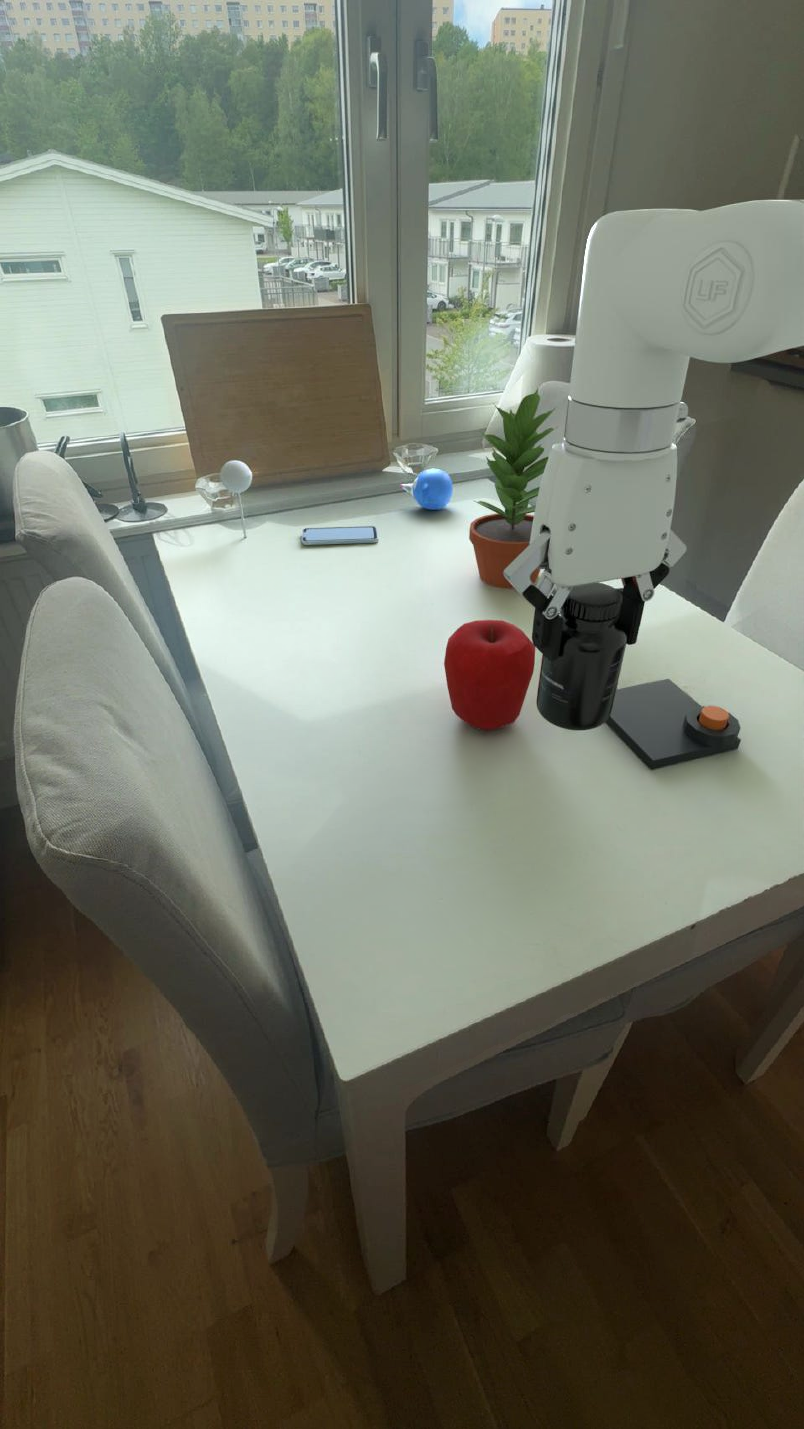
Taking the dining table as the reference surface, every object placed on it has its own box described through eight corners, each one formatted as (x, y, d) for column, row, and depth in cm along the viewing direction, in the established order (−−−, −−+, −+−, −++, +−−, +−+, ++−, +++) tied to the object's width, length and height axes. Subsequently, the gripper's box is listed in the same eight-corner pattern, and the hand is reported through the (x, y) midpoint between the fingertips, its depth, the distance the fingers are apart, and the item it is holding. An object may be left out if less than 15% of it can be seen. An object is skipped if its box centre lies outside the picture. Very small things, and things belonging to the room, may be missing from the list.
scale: (743, 750, 80) (751, 730, 78) (653, 772, 77) (658, 752, 75) (669, 686, 91) (674, 667, 90) (587, 703, 88) (590, 684, 87)
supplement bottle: (525, 721, 61) (538, 601, 54) (547, 684, 66) (562, 569, 59) (601, 741, 59) (625, 618, 52) (619, 701, 64) (643, 583, 57)
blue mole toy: (408, 496, 156) (407, 459, 151) (458, 501, 153) (459, 463, 148) (391, 514, 147) (390, 474, 142) (444, 519, 144) (444, 479, 139)
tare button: (731, 728, 79) (735, 717, 79) (709, 733, 79) (713, 722, 78) (714, 714, 82) (717, 703, 81) (693, 718, 81) (696, 708, 80)
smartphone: (378, 539, 133) (301, 541, 132) (378, 543, 134) (301, 546, 133) (376, 525, 139) (302, 528, 138) (376, 529, 140) (303, 532, 139)
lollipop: (224, 541, 136) (211, 464, 127) (238, 530, 140) (226, 455, 131) (252, 544, 134) (241, 466, 125) (265, 533, 139) (255, 457, 130)
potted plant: (457, 589, 116) (464, 400, 99) (478, 555, 128) (487, 381, 110) (544, 600, 112) (567, 406, 95) (557, 565, 124) (580, 385, 106)
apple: (428, 726, 85) (429, 631, 77) (468, 688, 92) (473, 597, 84) (504, 755, 80) (514, 657, 72) (540, 713, 87) (553, 618, 79)
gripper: (687, 405, 53) (644, 610, 64) (485, 426, 49) (474, 642, 59) (757, 426, 47) (696, 648, 58) (534, 452, 43) (512, 686, 53)
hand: (584, 643), depth 58 cm, fingers closed on supplement bottle, 6 cm apart
